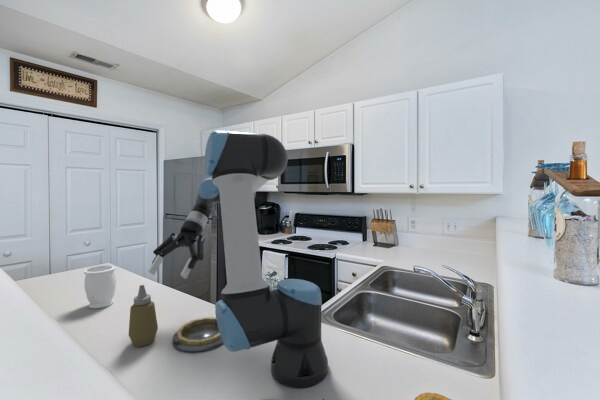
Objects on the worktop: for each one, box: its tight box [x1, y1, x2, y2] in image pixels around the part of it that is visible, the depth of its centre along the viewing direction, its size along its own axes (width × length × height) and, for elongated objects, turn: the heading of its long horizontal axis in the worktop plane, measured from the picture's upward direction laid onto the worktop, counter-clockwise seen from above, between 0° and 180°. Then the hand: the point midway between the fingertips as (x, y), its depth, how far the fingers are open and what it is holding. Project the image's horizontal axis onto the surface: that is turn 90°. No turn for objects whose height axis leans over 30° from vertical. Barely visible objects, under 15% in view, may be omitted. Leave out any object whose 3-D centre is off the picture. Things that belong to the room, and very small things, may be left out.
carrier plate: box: [172, 317, 224, 354], centre depth 91 cm, size 18×18×2 cm
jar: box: [83, 264, 117, 310], centre depth 115 cm, size 11×10×15 cm
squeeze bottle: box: [128, 284, 159, 348], centre depth 88 cm, size 8×8×18 cm
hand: (166, 275), depth 97 cm, fingers open, 13 cm apart
